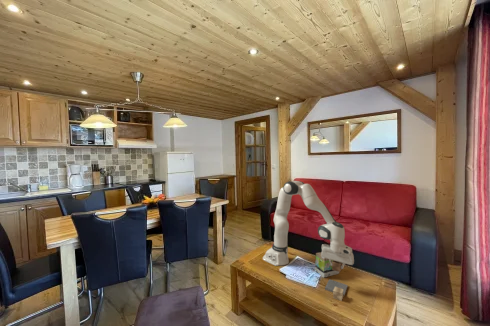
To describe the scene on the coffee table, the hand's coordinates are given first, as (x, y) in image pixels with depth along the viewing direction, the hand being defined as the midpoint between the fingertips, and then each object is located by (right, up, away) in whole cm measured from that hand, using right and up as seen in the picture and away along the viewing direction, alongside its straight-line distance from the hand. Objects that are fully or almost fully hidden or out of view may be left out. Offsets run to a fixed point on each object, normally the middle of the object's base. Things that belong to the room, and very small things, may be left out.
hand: (337, 266), depth 144 cm
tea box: (+1, -14, +19) cm, 24 cm away
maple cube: (-3, -15, -8) cm, 18 cm away
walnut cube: (0, -2, 0) cm, 2 cm away
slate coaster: (0, -15, +1) cm, 15 cm away
